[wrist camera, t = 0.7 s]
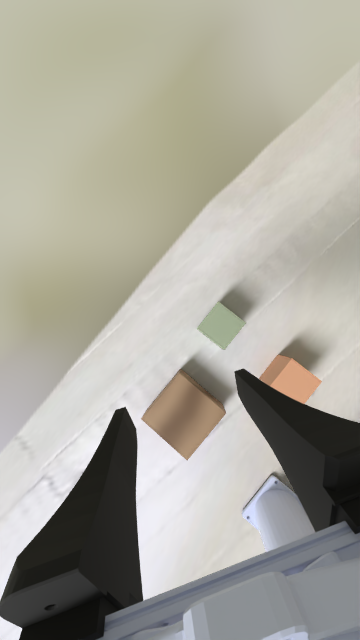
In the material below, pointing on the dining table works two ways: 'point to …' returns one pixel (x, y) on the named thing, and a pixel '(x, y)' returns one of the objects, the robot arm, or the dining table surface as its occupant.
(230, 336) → the green cube
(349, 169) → the dining table surface
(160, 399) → the walnut block
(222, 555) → the dining table surface
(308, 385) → the terracotta cube
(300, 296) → the dining table surface
